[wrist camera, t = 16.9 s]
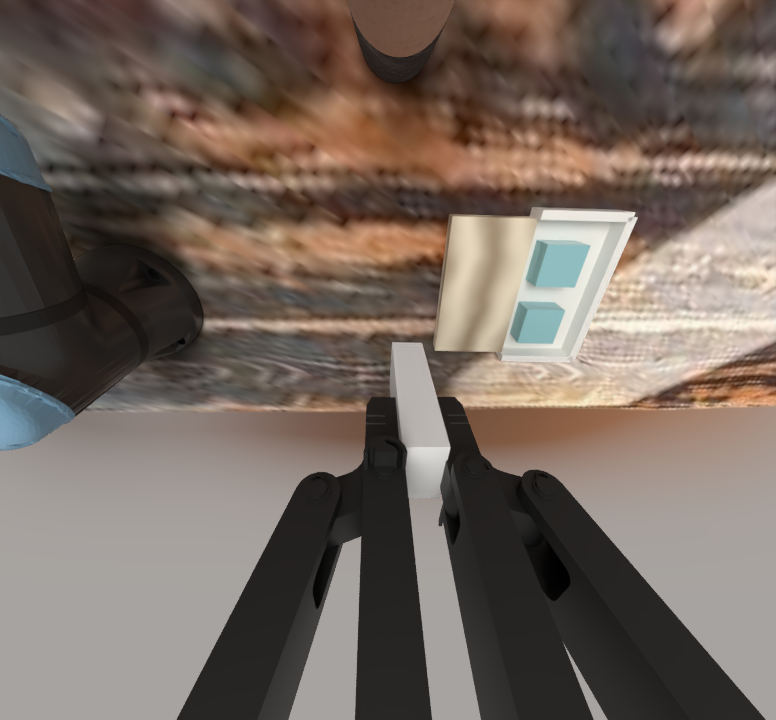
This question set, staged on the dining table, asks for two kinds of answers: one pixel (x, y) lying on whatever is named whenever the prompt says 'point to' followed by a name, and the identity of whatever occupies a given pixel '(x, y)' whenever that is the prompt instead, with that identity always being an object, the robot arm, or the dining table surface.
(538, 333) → the tile
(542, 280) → the tile
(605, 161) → the dining table surface
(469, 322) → the board
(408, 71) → the travel mug
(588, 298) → the tray
